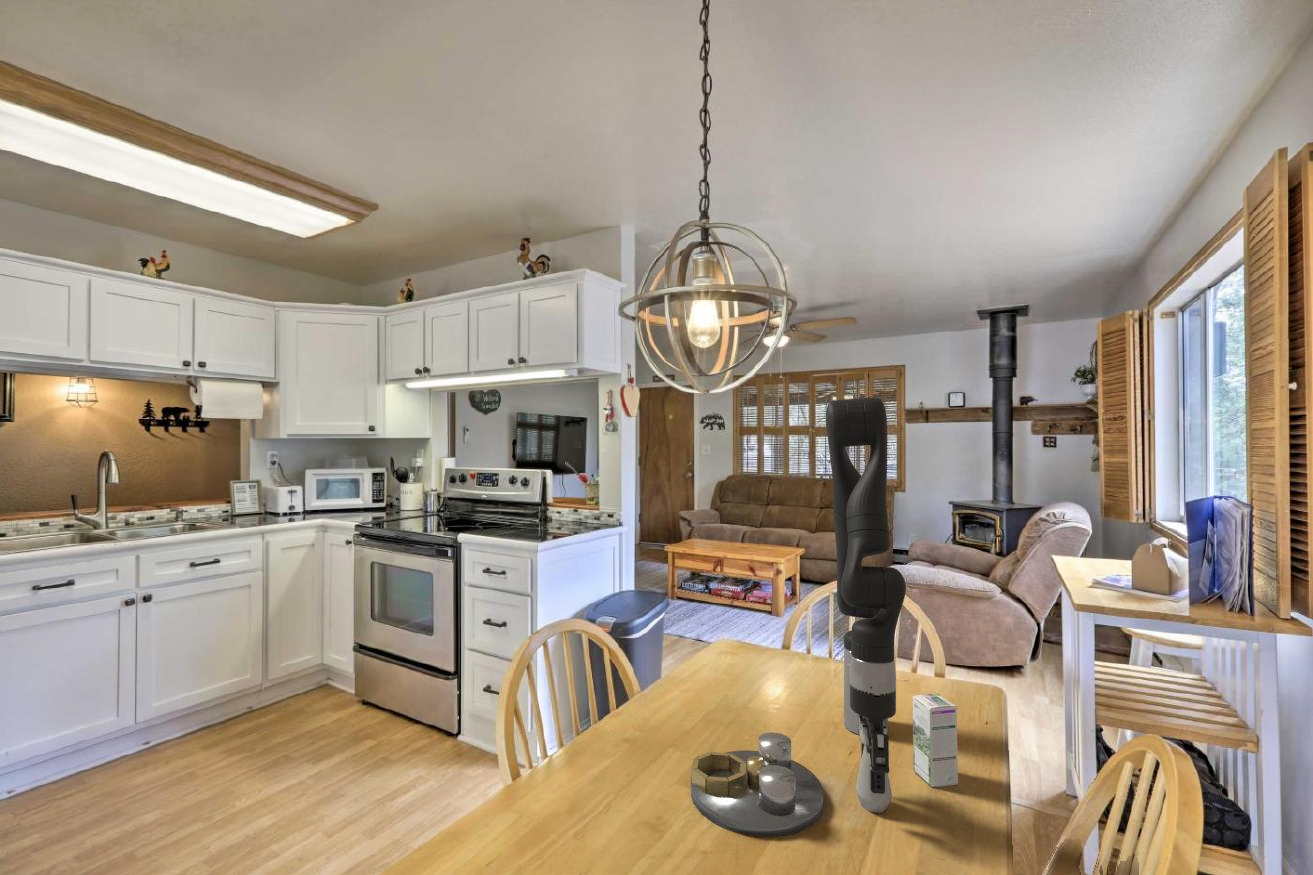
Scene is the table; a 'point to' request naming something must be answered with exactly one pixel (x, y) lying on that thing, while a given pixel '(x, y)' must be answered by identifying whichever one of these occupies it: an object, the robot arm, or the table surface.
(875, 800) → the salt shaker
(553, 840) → the table surface
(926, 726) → the syrup box
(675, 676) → the table surface
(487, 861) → the table surface
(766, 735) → the carrier
